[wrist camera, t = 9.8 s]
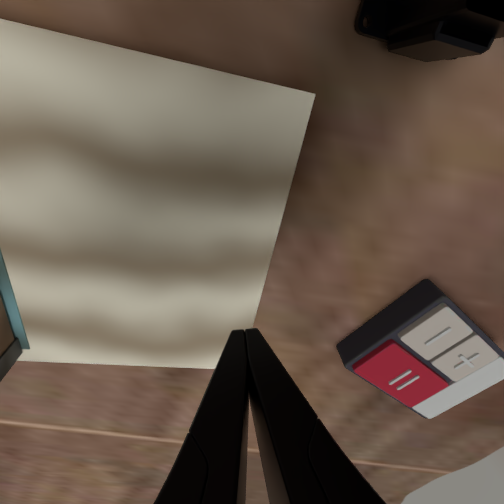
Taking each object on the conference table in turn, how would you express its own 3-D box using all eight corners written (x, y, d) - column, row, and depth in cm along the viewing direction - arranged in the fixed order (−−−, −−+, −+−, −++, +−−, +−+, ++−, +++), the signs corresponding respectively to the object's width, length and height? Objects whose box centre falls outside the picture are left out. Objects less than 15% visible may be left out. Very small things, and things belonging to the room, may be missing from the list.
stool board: (-192, -24, 12) (-287, -51, 10) (303, 93, 16) (316, 93, 14) (-33, 332, 23) (-61, 358, 20) (239, 347, 27) (240, 370, 24)
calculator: (452, 300, 22) (527, 375, 27) (419, 271, 25) (491, 341, 31) (345, 374, 25) (430, 426, 30) (331, 338, 29) (409, 391, 34)
